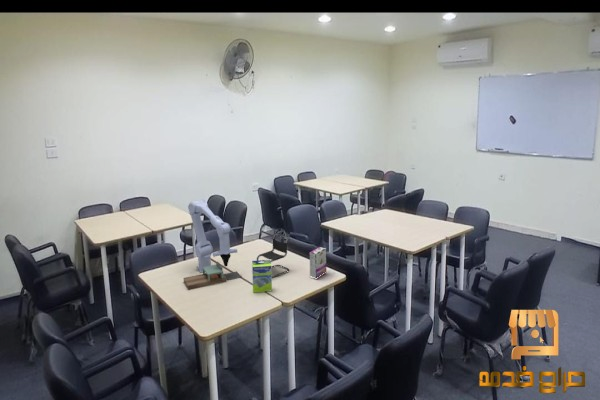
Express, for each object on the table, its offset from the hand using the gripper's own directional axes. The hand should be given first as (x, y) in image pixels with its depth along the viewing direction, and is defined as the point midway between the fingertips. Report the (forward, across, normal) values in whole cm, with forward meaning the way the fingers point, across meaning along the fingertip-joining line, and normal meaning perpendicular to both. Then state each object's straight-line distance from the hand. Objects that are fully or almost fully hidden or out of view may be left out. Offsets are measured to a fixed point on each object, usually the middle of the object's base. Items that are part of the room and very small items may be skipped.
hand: (225, 265), depth 233 cm
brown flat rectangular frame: (+7, -13, 0) cm, 15 cm away
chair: (+8, +28, -7) cm, 30 cm away
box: (+8, +12, -27) cm, 31 cm away
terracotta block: (+8, -8, 0) cm, 11 cm away
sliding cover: (+5, -8, 0) cm, 9 cm away
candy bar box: (+8, +49, -25) cm, 56 cm away
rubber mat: (+7, +4, 0) cm, 8 cm away
